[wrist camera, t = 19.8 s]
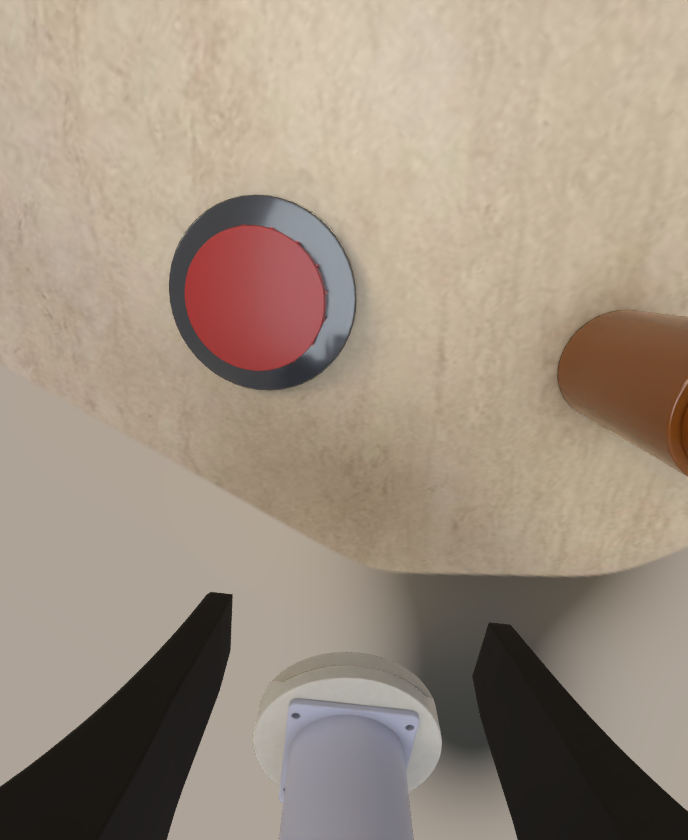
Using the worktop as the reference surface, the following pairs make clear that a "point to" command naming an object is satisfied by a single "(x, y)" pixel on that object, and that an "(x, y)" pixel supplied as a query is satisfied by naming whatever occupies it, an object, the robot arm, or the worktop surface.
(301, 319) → the lid
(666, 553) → the worktop surface
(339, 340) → the coaster
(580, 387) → the jar
